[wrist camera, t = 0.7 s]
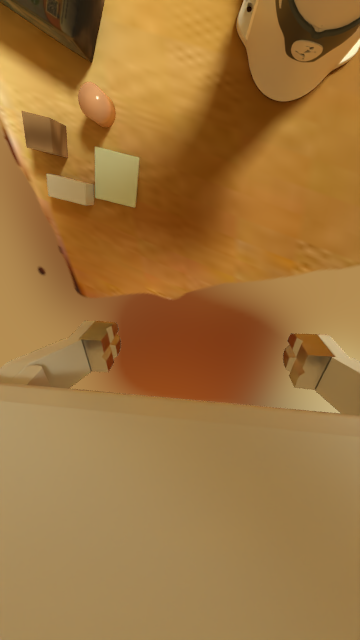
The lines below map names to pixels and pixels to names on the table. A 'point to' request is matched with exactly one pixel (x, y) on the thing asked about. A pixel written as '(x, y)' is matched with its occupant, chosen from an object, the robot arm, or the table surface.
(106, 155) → the green tile
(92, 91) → the brown egg
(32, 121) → the walnut cube
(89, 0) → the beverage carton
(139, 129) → the table surface
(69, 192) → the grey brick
